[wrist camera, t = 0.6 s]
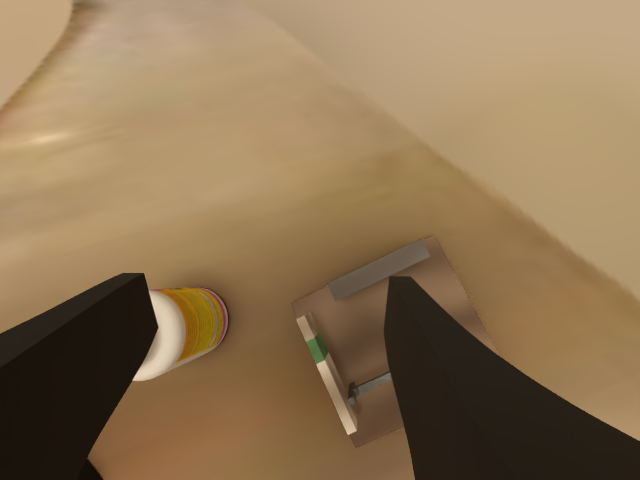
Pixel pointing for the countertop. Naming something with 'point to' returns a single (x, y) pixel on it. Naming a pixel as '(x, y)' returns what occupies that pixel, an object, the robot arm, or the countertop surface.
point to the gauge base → (375, 331)
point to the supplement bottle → (183, 328)
